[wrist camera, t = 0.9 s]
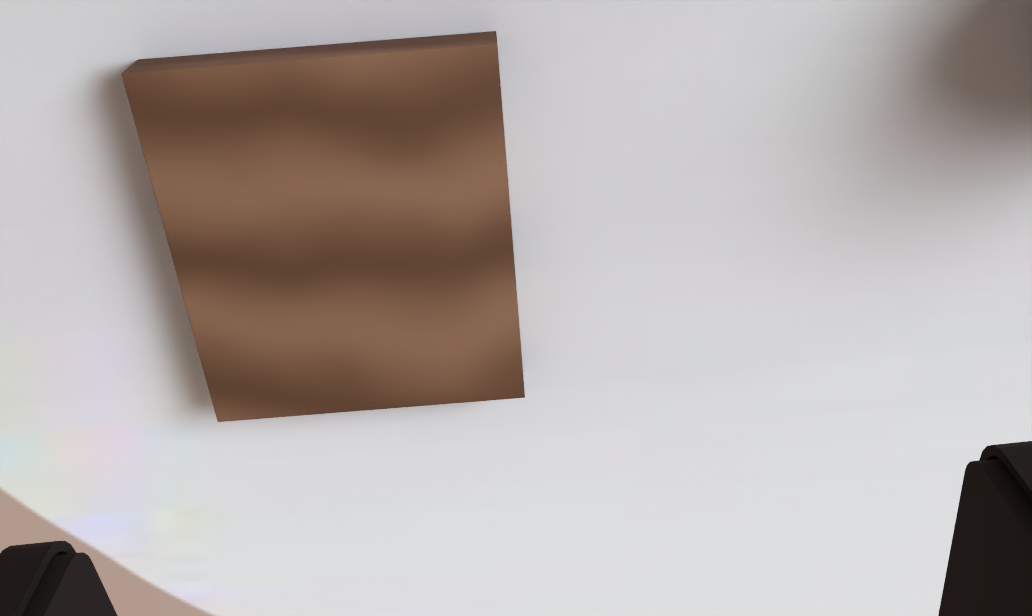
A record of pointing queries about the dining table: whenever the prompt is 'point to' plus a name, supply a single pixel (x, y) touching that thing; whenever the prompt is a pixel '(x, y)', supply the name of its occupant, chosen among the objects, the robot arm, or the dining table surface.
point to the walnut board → (338, 221)
